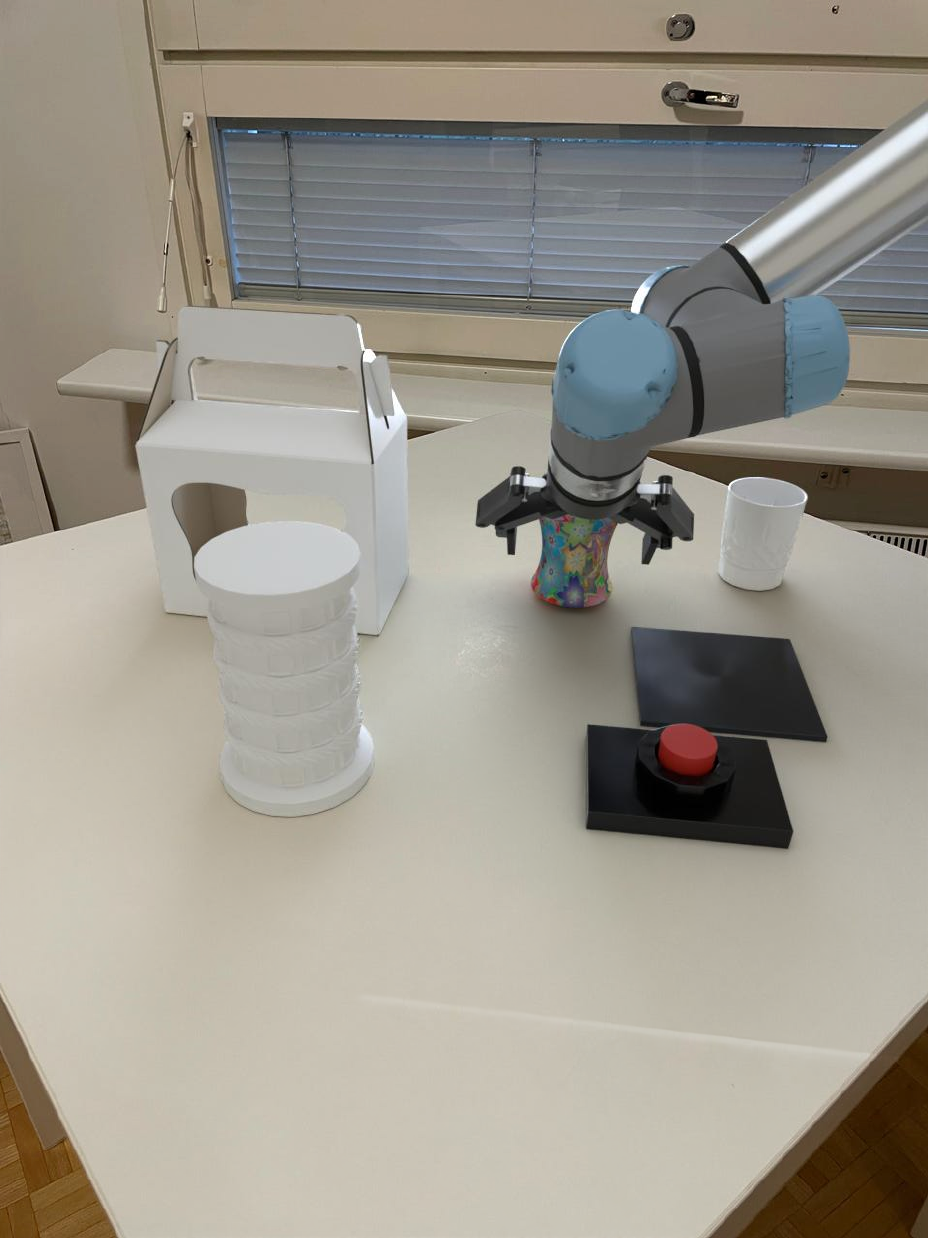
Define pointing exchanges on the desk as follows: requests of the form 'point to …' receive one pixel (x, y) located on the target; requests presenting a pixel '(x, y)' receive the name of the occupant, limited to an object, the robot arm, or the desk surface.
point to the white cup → (759, 531)
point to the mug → (574, 561)
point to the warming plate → (723, 684)
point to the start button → (687, 750)
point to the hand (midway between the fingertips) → (578, 547)
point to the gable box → (273, 450)
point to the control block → (683, 790)
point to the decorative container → (287, 665)
